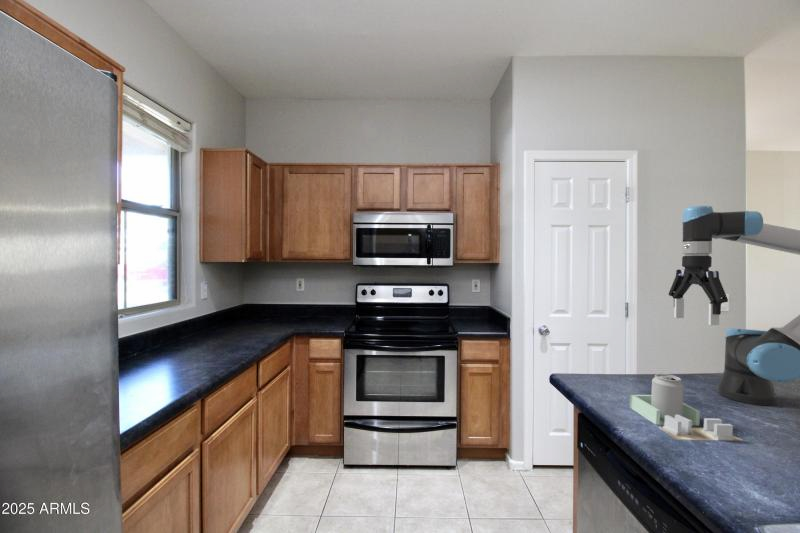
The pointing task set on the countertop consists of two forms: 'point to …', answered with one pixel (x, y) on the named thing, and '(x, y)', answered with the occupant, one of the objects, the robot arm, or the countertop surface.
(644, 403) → the green open box
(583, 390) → the countertop surface
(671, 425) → the clip
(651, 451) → the countertop surface
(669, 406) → the can
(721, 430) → the clip
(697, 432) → the board
